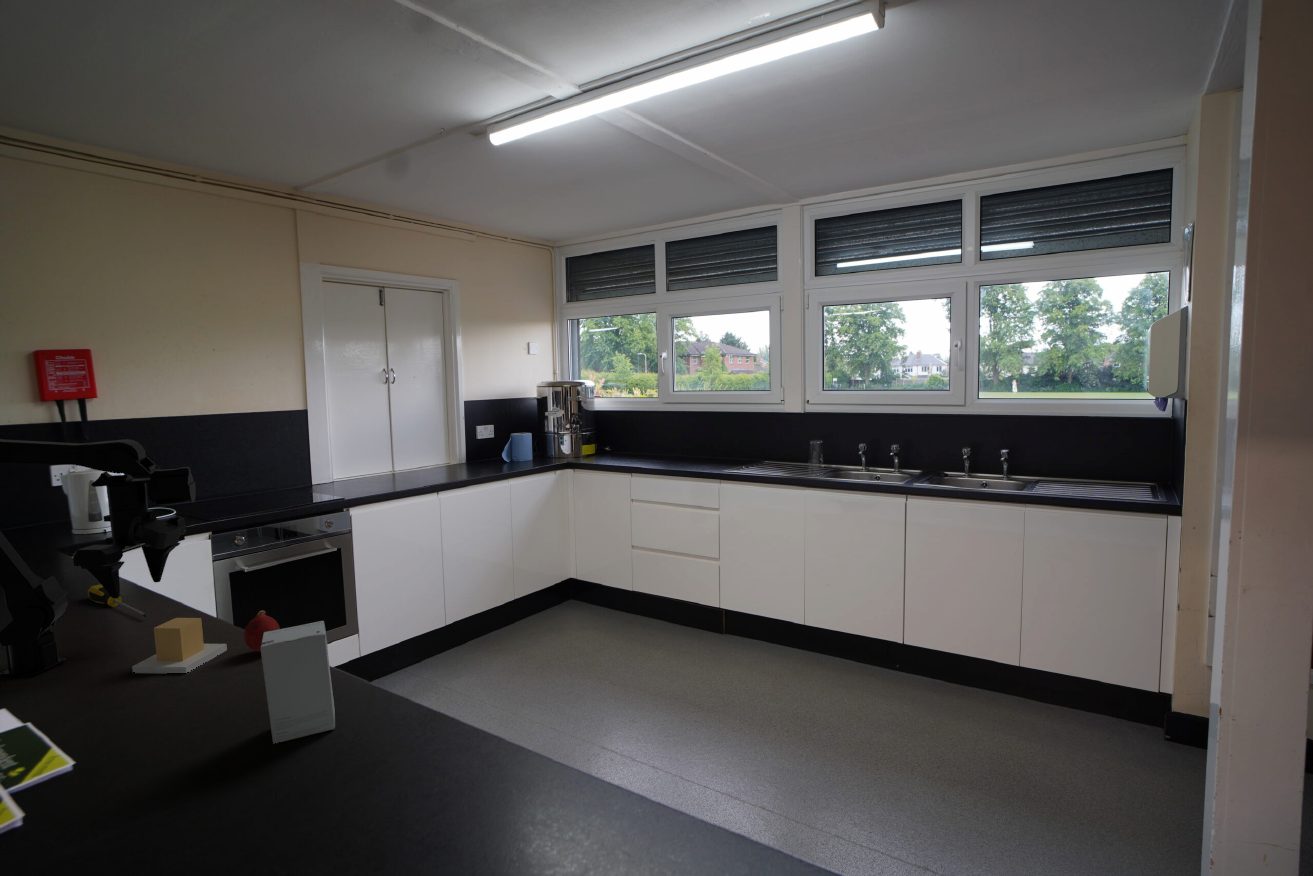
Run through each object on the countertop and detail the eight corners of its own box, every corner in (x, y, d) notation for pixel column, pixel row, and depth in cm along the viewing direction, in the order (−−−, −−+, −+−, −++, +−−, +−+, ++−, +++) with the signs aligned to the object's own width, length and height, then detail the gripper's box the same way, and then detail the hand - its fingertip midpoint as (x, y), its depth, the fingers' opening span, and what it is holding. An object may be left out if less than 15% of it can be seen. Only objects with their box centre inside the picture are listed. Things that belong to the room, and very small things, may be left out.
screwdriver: (85, 586, 160) (136, 611, 143) (103, 582, 163) (155, 606, 146) (86, 600, 160) (138, 626, 143) (104, 596, 163) (157, 621, 146)
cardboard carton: (157, 660, 121) (153, 628, 121) (179, 649, 126) (175, 617, 126) (183, 661, 121) (179, 628, 120) (204, 649, 126) (201, 618, 125)
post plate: (132, 673, 119) (129, 641, 118) (177, 649, 129) (174, 620, 128) (186, 673, 118) (183, 642, 118) (227, 650, 128) (224, 620, 128)
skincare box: (334, 713, 103) (327, 618, 102) (335, 731, 98) (327, 632, 96) (271, 727, 100) (263, 629, 98) (268, 747, 94) (259, 643, 93)
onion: (265, 660, 123) (261, 617, 122) (238, 658, 124) (234, 616, 123) (288, 647, 129) (285, 606, 128) (262, 645, 130) (259, 605, 129)
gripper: (126, 518, 116) (135, 607, 117) (206, 497, 134) (213, 574, 136) (65, 519, 117) (75, 607, 118) (154, 498, 135) (161, 574, 137)
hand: (137, 589), depth 127 cm, fingers open, 9 cm apart
